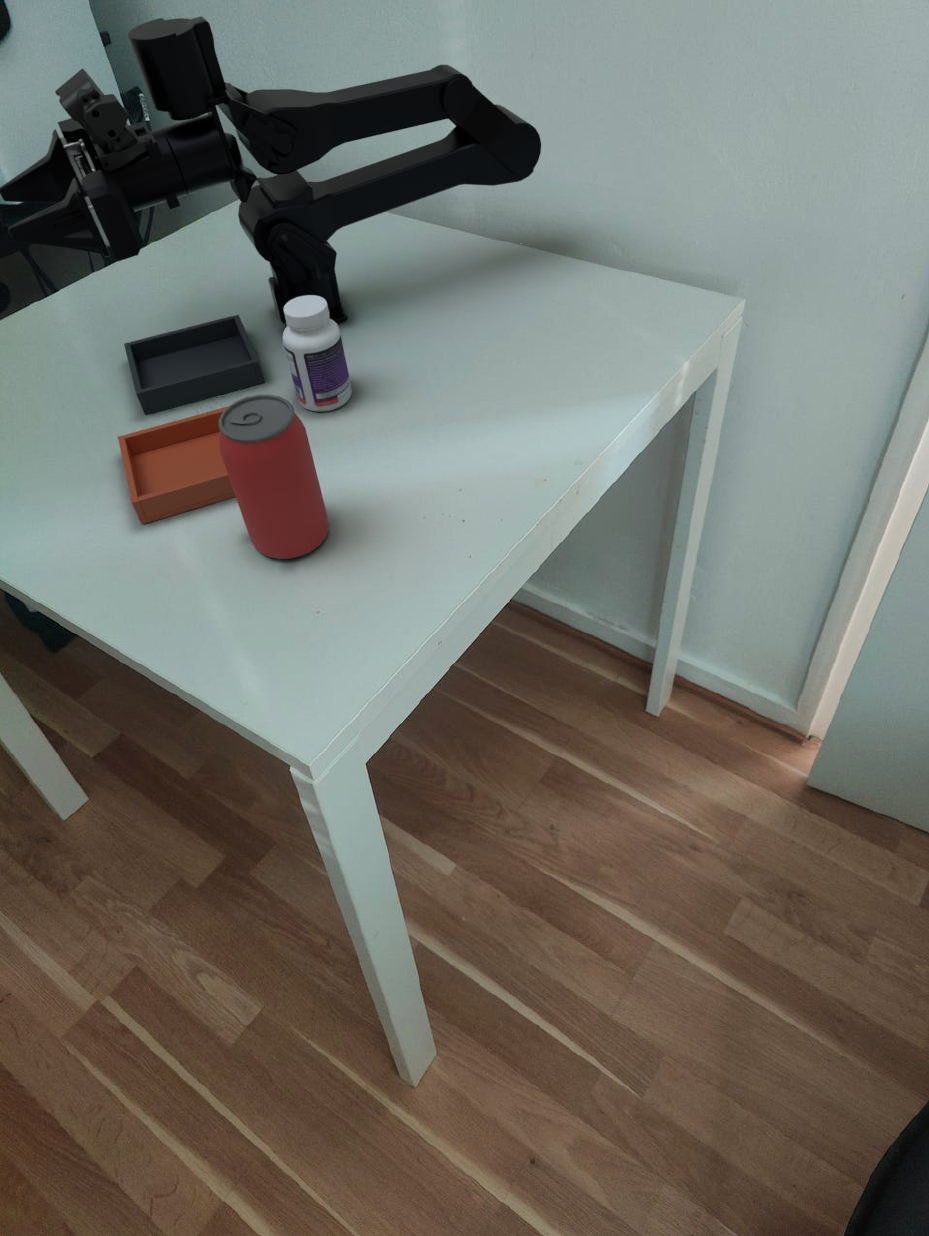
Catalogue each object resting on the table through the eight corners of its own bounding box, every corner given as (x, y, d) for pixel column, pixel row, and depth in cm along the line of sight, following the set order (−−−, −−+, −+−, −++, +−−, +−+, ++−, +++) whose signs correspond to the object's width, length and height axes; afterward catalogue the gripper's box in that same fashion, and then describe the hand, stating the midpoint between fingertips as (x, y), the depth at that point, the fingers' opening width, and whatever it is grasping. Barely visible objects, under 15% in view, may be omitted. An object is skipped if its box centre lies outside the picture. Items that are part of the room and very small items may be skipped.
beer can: (255, 513, 74) (215, 394, 65) (331, 505, 74) (302, 385, 65) (249, 567, 70) (206, 447, 61) (330, 558, 70) (298, 437, 61)
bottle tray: (244, 425, 83) (237, 403, 81) (268, 487, 77) (261, 464, 75) (127, 458, 81) (117, 436, 79) (141, 524, 74) (131, 502, 73)
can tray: (244, 335, 94) (238, 314, 92) (265, 382, 88) (258, 360, 86) (132, 364, 92) (123, 343, 90) (145, 415, 85) (136, 393, 84)
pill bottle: (361, 385, 86) (344, 293, 79) (338, 416, 83) (319, 324, 76) (312, 378, 88) (291, 287, 80) (288, 409, 84) (264, 317, 77)
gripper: (119, 36, 80) (-52, 84, 77) (160, 98, 68) (-39, 156, 65) (165, 161, 88) (13, 208, 85) (209, 234, 77) (35, 291, 74)
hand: (5, 214), depth 77 cm, fingers open, 9 cm apart
